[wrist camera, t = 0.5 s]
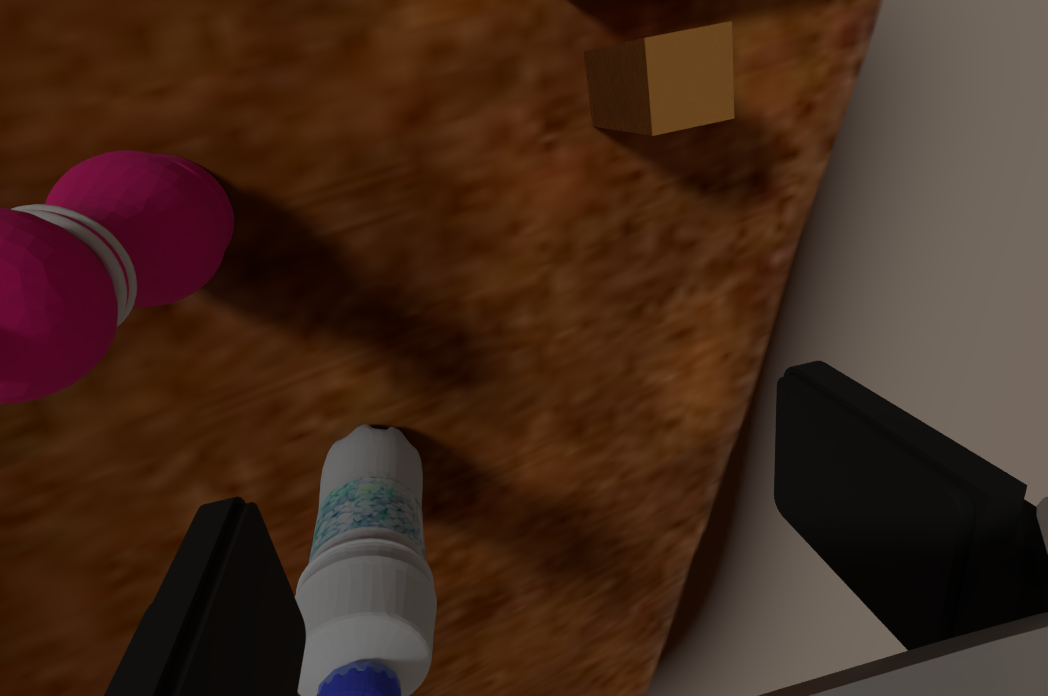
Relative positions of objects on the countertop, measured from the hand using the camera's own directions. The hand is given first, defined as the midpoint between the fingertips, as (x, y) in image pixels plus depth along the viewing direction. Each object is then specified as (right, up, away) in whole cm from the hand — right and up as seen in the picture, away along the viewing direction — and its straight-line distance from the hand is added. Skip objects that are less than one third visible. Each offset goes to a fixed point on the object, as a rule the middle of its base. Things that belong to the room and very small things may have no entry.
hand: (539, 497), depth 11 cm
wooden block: (+5, +18, +24) cm, 31 cm away
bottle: (-10, -5, +30) cm, 32 cm away
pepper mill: (-19, +10, +22) cm, 31 cm away
